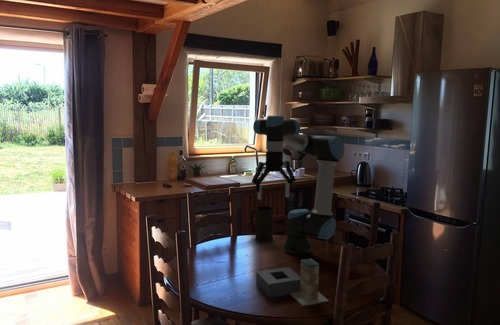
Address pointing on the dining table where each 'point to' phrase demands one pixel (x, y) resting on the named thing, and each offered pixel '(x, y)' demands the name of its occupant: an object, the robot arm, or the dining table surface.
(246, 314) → the dining table surface
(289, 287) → the block
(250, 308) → the dining table surface
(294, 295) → the coaster
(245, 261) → the dining table surface
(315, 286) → the teal and tan block
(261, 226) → the beer stein
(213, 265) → the dining table surface
